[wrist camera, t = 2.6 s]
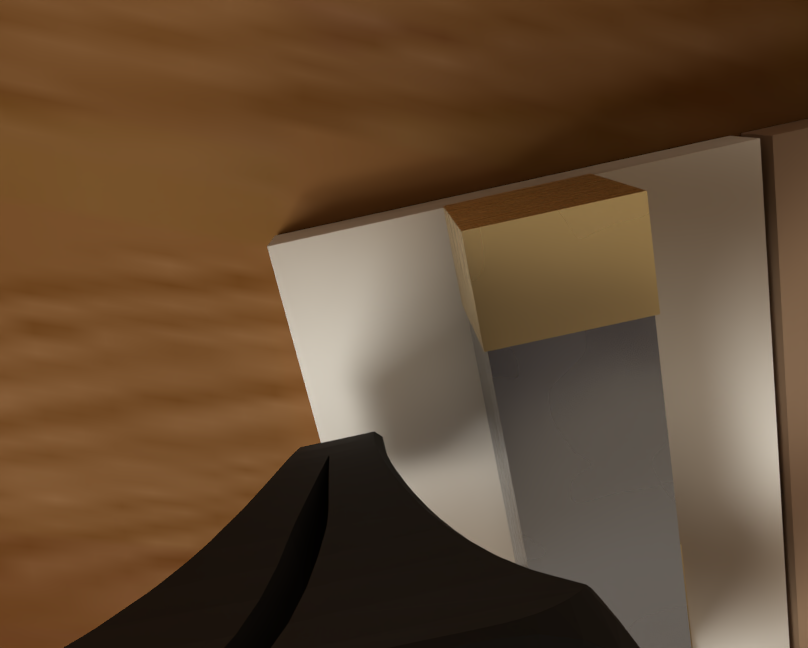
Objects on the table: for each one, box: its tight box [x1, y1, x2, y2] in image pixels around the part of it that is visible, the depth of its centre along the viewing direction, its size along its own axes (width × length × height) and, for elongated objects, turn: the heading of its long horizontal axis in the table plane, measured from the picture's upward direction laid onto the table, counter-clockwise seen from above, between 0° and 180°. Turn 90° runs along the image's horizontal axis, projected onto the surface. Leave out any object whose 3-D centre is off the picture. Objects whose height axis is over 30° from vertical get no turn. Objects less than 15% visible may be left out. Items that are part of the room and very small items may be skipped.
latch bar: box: [443, 174, 691, 648], centre depth 11 cm, size 10×3×3 cm, turn 12°
